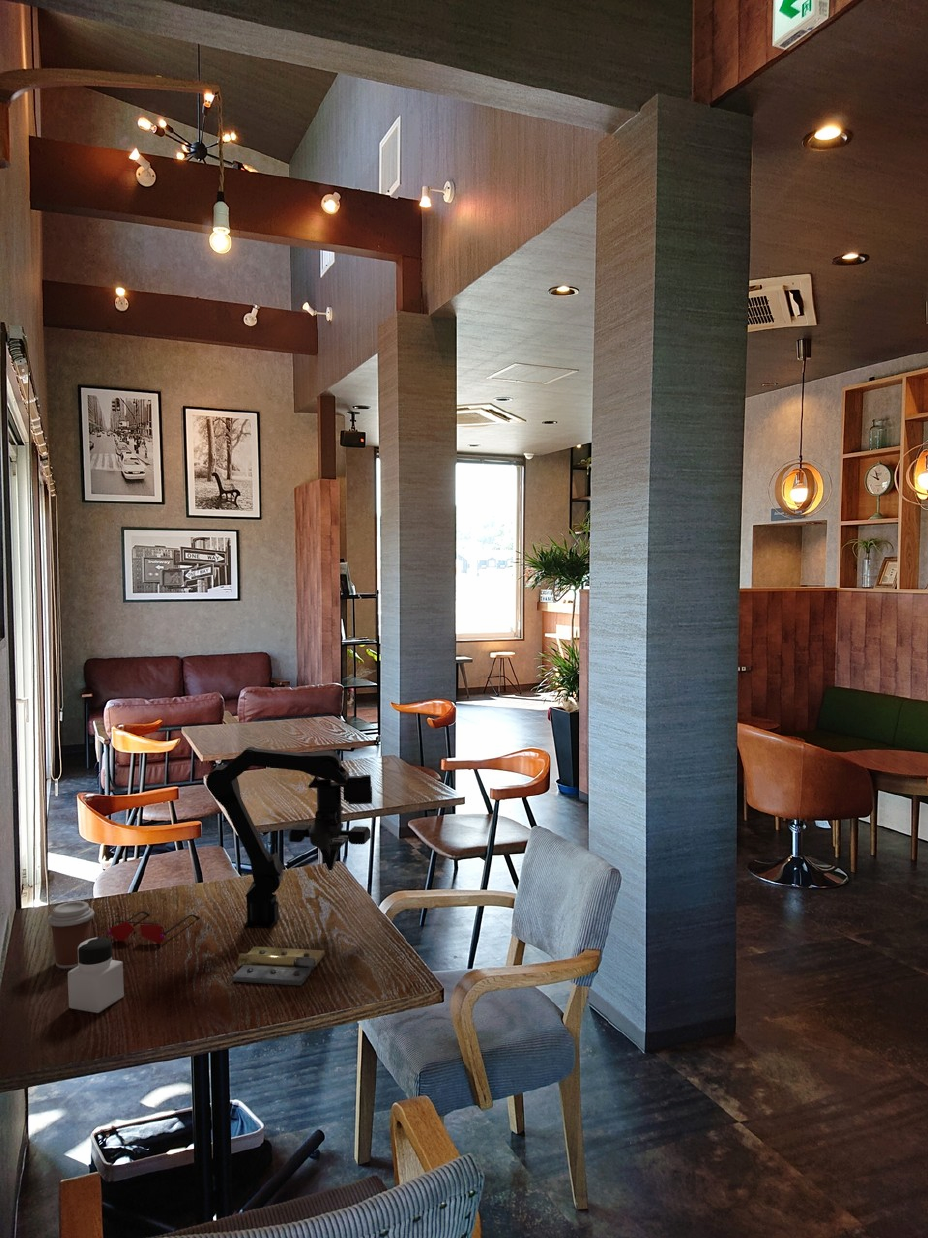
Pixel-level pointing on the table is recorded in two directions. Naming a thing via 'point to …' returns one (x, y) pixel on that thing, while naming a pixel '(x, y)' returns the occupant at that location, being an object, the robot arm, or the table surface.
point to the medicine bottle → (95, 977)
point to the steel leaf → (276, 973)
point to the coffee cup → (70, 931)
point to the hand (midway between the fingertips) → (330, 869)
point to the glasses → (147, 931)
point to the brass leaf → (277, 956)
